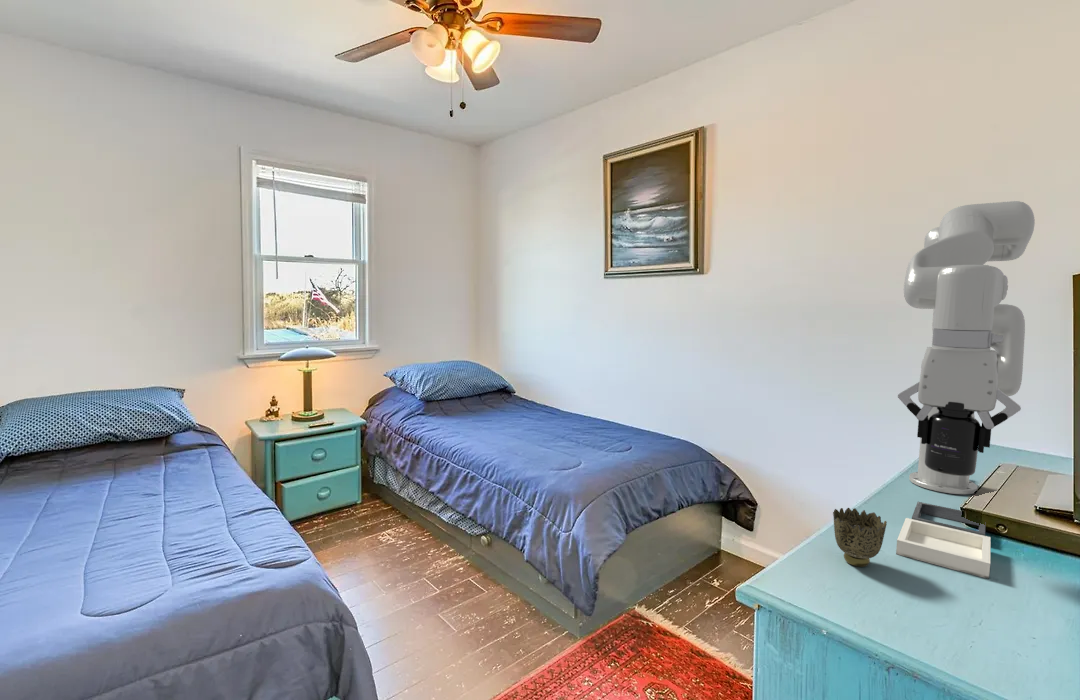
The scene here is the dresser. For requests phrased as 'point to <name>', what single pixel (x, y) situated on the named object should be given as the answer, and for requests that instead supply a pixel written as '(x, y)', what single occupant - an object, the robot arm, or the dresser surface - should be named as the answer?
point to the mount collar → (944, 516)
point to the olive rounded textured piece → (858, 535)
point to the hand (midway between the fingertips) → (951, 445)
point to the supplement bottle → (952, 440)
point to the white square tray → (945, 547)
